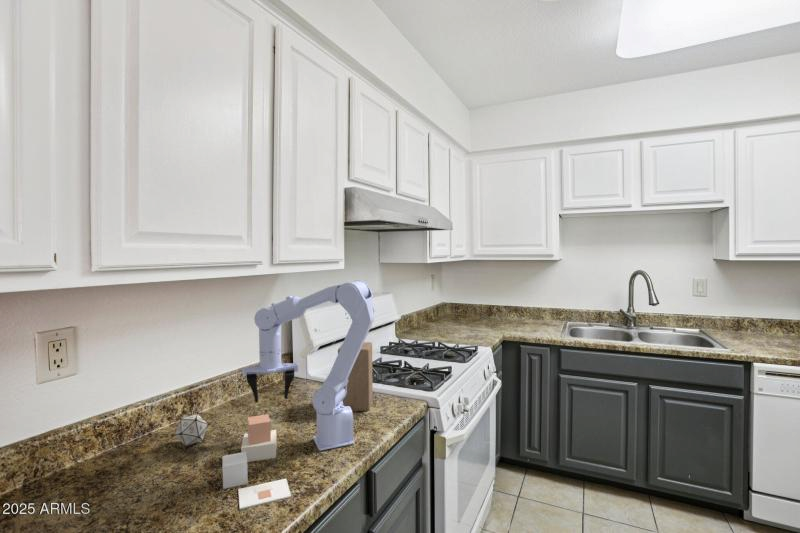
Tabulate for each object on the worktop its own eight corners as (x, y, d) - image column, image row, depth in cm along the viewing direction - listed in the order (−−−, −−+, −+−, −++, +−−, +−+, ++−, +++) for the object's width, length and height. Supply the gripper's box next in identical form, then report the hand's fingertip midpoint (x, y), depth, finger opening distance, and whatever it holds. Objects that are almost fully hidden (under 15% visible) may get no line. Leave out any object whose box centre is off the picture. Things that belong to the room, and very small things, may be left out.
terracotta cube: (268, 432, 107) (267, 414, 107) (270, 440, 102) (270, 421, 102) (247, 436, 105) (247, 417, 104) (249, 444, 100) (249, 425, 100)
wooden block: (343, 399, 140) (343, 341, 139) (372, 399, 140) (372, 342, 139) (338, 411, 130) (337, 349, 129) (369, 411, 130) (368, 349, 129)
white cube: (246, 472, 95) (246, 451, 94) (247, 484, 90) (247, 461, 90) (223, 477, 93) (222, 456, 92) (223, 489, 88) (222, 466, 88)
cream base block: (276, 444, 109) (276, 429, 109) (275, 459, 101) (275, 443, 101) (244, 448, 107) (244, 433, 106) (241, 464, 99) (241, 447, 99)
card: (286, 479, 91) (286, 477, 91) (291, 497, 85) (291, 495, 85) (238, 490, 87) (238, 488, 87) (239, 509, 81) (239, 507, 81)
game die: (194, 454, 110) (207, 416, 116) (207, 452, 105) (221, 412, 111) (160, 447, 105) (176, 408, 111) (173, 445, 100) (188, 403, 106)
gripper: (241, 356, 106) (242, 407, 106) (298, 351, 110) (299, 401, 111) (242, 350, 112) (243, 398, 113) (296, 345, 117) (297, 392, 117)
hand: (271, 399), depth 112 cm, fingers open, 7 cm apart
